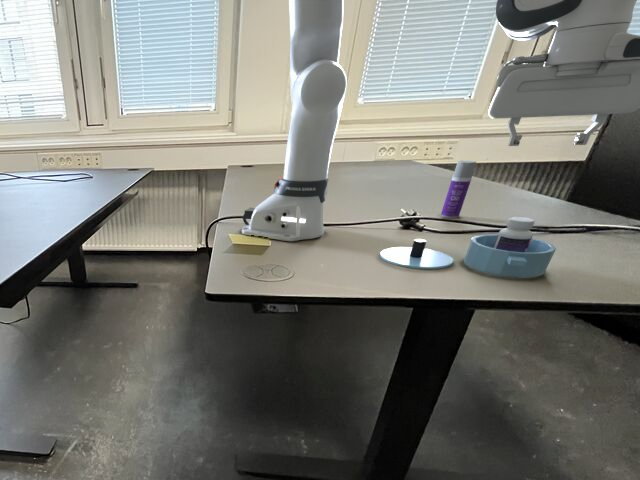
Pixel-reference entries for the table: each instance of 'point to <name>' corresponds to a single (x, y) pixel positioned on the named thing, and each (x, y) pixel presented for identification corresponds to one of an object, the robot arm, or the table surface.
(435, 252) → the pan lid
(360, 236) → the table surface
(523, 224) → the pill bottle
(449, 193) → the container
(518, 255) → the pan
